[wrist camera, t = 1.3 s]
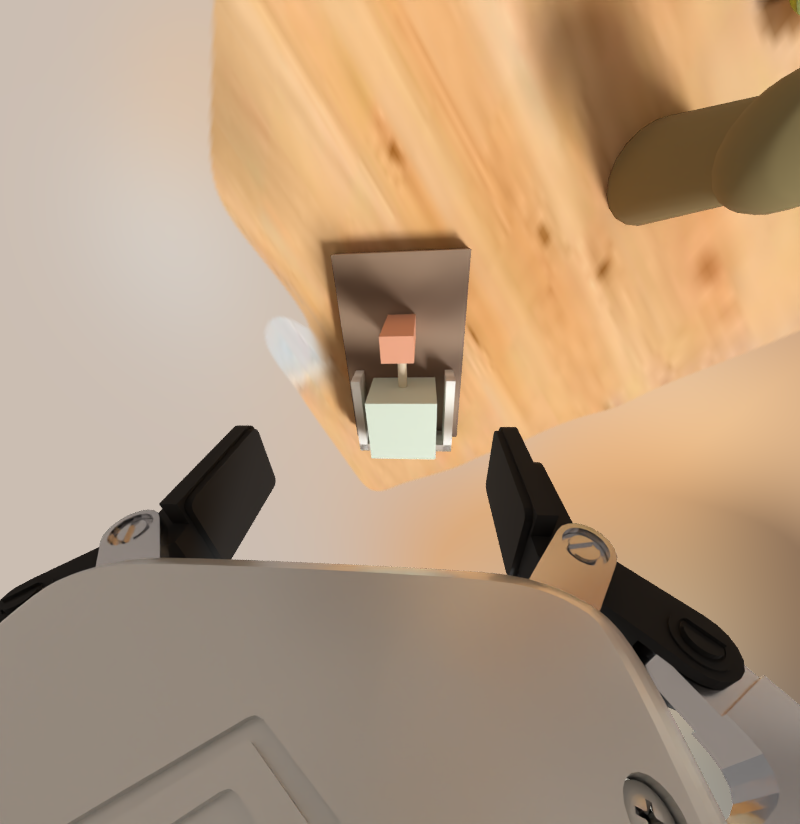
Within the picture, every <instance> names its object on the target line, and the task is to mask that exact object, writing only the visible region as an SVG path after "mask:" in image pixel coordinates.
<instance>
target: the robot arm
mask: <svg viewBox="0 0 800 824" xmlns="http://www.w3.org/2000/svg"><path fill="white" fill-rule="evenodd" d="M274 486H275V476H274V473H273V470H272V468H271V465H270V462H269V459H268V457H267V454H266V451H265V449H264V446H263V443H262V440H261V437H260V435H259V432H258V431H257V430H256V429H254V427H253V426H235V427H234V428H233V429H232V430H231V431H230V432H229V433H228V434H227V435H226V436H225V437H224V438H223V439H222V440H221V441H220V442H219V443H218V444H217V445H216V446H215V447H214V448H213V449H212V450H211V451H210V452H209V453H208V454H207V456H206V457H205V458H204V459H203V460H202V461H201V462H200V463H199V464H198V465H197V466H196V467H195V468H194V469H193V470H192V471H191V472H190V473H189V474H188V475H187V476H186V477H185V478H184V479H183V480H182V481H181V482H180V483H179V484H178V485H177V486H176V487H175V488H174V489H173V490H172V491H171V492H170V493H169V494H168V495H167V496H166V498H165V499H163V500H162V502H161V503H160V506H161V507H162V510H161V511H160V512H159V513H158V512H156V511H154V510H143V511H139V512H136V513H133V514H130V515H128V516H126V517H124V518H123V519H121V520H119V521H118V522H117V523H115V524H114V525H113V526H111V528H109V529H108V530H107V531H106V533H105V534H104V535H103V537H102V539H101V541H100V546H99V547H98V548H96V549H94V550H92V551H90V552H88V553H86V554H84V555H81V556H80V557H77V558H75V559H73V560H71V561H69V562H67V563H65V564H62V565H61V566H58V567H56V568H54V569H52V570H50V571H48V572H46V573H43V574H41V575H39V576H37V577H35V578H33V579H31V580H29V581H27V582H25V583H24V584H22V585H19V586H18V587H16V588H14V589H13V590H11V591H10V592H9V593H8V594H6V595H5V596H4V597H3V598H2V599H1V600H0V824H800V705H799V704H798V703H796V702H795V701H794V700H793V699H792V698H790V697H789V696H788V695H787V694H786V693H785V692H783V691H782V690H781V689H780V688H779V687H777V686H776V685H775V684H774V683H773V682H772V681H770V680H769V679H768V678H767V677H766V676H765V675H764V676H762V677H761V678H759V677H757V676H756V675H755V674H754V673H753V672H752V671H751V670H749V669H748V668H747V667H746V666H745V665H744V660H743V658H742V656H741V654H740V652H739V650H738V648H737V647H736V645H735V644H734V643H733V641H732V640H731V639H730V637H729V636H728V635H727V634H726V633H725V632H724V631H723V630H722V629H721V628H720V627H718V626H717V625H716V624H715V623H713V622H712V621H711V620H709V619H708V618H706V617H705V616H704V615H702V614H700V613H699V612H697V611H695V610H694V609H692V608H691V607H689V606H687V605H686V604H684V603H683V602H681V601H679V600H678V599H676V598H674V597H673V596H671V595H670V594H668V593H666V592H665V591H663V590H661V589H659V588H658V587H657V586H655V585H654V584H652V583H650V582H649V581H647V580H645V579H644V578H642V577H640V576H639V575H637V574H636V573H634V572H632V571H631V570H629V569H628V568H626V567H624V566H623V565H621V564H620V563H618V562H617V554H616V552H615V549H614V547H613V546H612V544H611V543H610V541H609V540H608V539H606V538H605V537H604V536H603V535H602V534H601V533H599V532H598V531H596V530H594V529H593V528H590V527H588V526H585V525H582V524H577V523H572V521H571V519H570V517H569V515H568V513H567V511H566V509H565V507H564V505H563V504H562V501H561V499H560V498H559V496H558V494H557V492H556V490H555V488H554V486H553V484H552V482H551V480H550V478H549V476H548V474H547V472H546V470H545V468H544V467H543V465H542V464H541V463H538V462H533V460H532V458H531V456H530V454H529V452H528V450H527V448H526V446H525V444H524V442H523V439H522V437H521V435H520V433H519V431H518V429H517V428H516V427H500V429H499V431H495V432H494V436H493V442H492V448H491V455H490V461H489V468H488V474H487V480H486V491H487V496H488V499H489V504H490V508H491V512H492V516H493V520H494V524H495V528H496V532H497V537H498V541H499V545H500V549H501V553H502V557H503V562H504V565H505V570H506V573H507V575H502V574H494V573H485V572H472V571H458V570H443V569H427V568H406V567H387V566H367V565H346V564H325V563H302V562H280V561H256V560H231V559H232V557H233V555H234V554H235V552H236V550H237V549H238V547H239V545H240V544H241V542H242V540H243V538H244V537H245V535H246V533H247V532H248V530H249V528H250V527H251V525H252V523H253V521H254V520H255V518H256V516H257V515H258V513H259V511H260V510H261V508H262V506H263V504H264V503H265V501H266V500H267V498H268V496H269V494H270V493H271V491H272V489H273V488H274ZM668 707H669V708H671V709H674V710H676V711H677V712H678V713H679V714H680V715H681V716H682V717H683V719H684V720H686V722H687V723H688V724H689V725H690V726H691V727H692V728H693V730H694V732H693V733H692V735H693V736H694V737H695V738H696V739H697V740H698V742H699V743H700V744H701V745H702V746H703V747H704V748H705V749H706V751H707V752H708V753H709V754H710V756H711V757H712V758H713V760H714V761H715V762H716V764H717V765H718V766H719V768H720V769H721V771H722V773H723V775H724V777H725V779H726V781H727V783H728V785H729V787H730V792H731V797H732V803H733V806H732V809H731V812H730V815H729V817H728V818H727V820H725V818H724V816H723V814H722V812H721V810H720V808H719V805H718V804H717V802H716V800H715V798H714V796H713V794H712V792H711V790H710V788H709V786H708V784H707V782H706V780H705V778H704V776H703V774H702V772H701V770H700V768H699V766H698V764H697V762H696V761H695V758H694V756H693V754H692V753H691V751H690V749H689V747H688V745H687V743H686V741H685V739H684V737H683V735H682V733H681V731H680V729H679V727H678V725H677V723H676V722H675V720H674V718H673V716H672V714H671V712H670V711H669V709H668ZM626 778H628V779H630V780H626V781H625V779H626ZM650 806H651V808H652V811H651V809H650Z"/></svg>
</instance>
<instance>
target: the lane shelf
mask: <svg viewBox="0 0 800 824" xmlns="http://www.w3.org/2000/svg"><path fill="white" fill-rule="evenodd" d="M470 257H471V249H470V248H454V249H431V250H408V251H384V252H361V253H338V254H333V255H331V260H332V267H333V273H334V280H335V287H336V293H337V300H338V307H339V313H340V320H341V327H342V333H343V340H344V347H345V354H346V360H347V367H348V374H349V380H350V387H351V394H352V400H353V407H354V414H355V420H356V427H357V434H358V436H359V442H360V449H361V450H370V441H369V433H368V425H367V417H366V409H365V402H366V399H367V396H368V393H369V390H370V387H371V384H372V381H373V378H398V364H381V358H380V345H379V335H380V333H381V330H382V328H383V325H384V323H385V321H386V318H387V316H388V315H396V314H416V343H415V356H414V363H407V377H435V382H436V396H437V423H436V451H451V442H452V437H456V436H457V423H458V410H459V398H460V385H461V372H462V359H463V347H464V334H465V321H466V308H467V295H468V283H469V270H470Z"/></svg>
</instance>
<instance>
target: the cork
mask: <svg viewBox="0 0 800 824" xmlns="http://www.w3.org/2000/svg"><path fill="white" fill-rule="evenodd" d="M607 199H608V204H609V209H610V210H611V212H612V213H613V215H614V216H615V218H616V219H618V220H619V221H621V222H623V223H624V224H627V225H636V226H639V225H644V224H648V223H652V222H657V221H661V220H665V219H670V218H674V217H678V216H682V215H687V214H691V213H695V212H699V211H704V210H708V209H712V208H717V207H721V206H725V207H726V208H728V209H729V210H732V211H734V212H737V213H744V214H753V215H766V214H771V213H775V212H780V211H785V210H789V209H792V208H796V207H799V206H800V68H799V69H797V70H795V71H794V72H792V73H790V74H789V75H787V76H785V77H784V78H782V79H781V80H779V81H778V82H776V83H775V84H773V85H772V86H771V87H769V88H768V89H767V90H765V91H764V92H763V93H762V94H761V95H760V96H756V97H752V98H747V99H743V100H738V101H734V102H729V103H725V104H720V105H716V106H711V107H706V108H702V109H697V110H693V111H688V112H684V113H679V114H675V115H671V116H667V117H664V118H660V119H657V120H655V121H654V122H652V123H651V124H649V125H647V126H646V127H644V128H643V129H641V130H640V131H639V132H638V133H637V134H636V135H635V136H634V137H633V138H632V139H631V140H630V141H629V142H628V143H627V144H626V145H625V147H624V149H623V150H622V152H621V153H620V155H619V156H618V158H617V159H616V161H615V163H614V166H613V169H612V171H611V174H610V176H609V180H608V188H607Z"/></svg>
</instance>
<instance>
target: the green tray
mask: <svg viewBox="0 0 800 824" xmlns="http://www.w3.org/2000/svg"><path fill="white" fill-rule="evenodd" d="M789 2H790V5H791V7H792V9H793V10H794V11H795V12H796V13H797V14H798V15H800V0H789Z"/></svg>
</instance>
